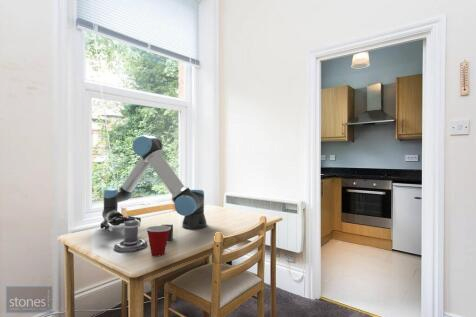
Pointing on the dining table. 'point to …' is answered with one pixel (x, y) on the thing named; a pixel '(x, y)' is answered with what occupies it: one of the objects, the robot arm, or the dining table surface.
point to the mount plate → (121, 248)
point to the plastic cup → (158, 239)
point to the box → (169, 232)
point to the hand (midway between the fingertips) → (125, 226)
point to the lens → (131, 233)
